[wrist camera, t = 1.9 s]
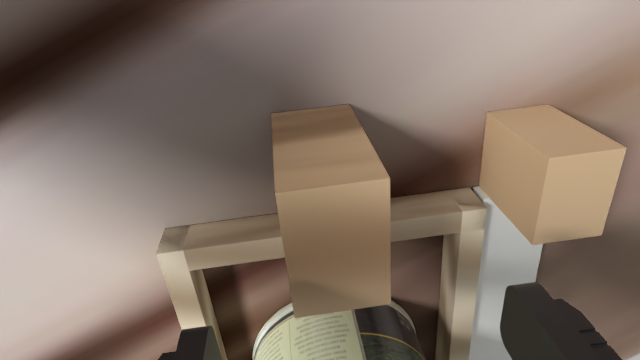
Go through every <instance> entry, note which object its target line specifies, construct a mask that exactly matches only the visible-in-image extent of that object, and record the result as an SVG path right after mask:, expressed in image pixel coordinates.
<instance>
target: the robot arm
mask: <svg viewBox="0 0 640 360" xmlns="http://www.w3.org/2000/svg"><path fill="white" fill-rule="evenodd" d="M500 333H501V338H502V341H503V344H504V346H505V348H506V350H507V352H508V353H509V355H510V357H511V359H512V360H622V359H621V358H620V357H619V356H618V354H617V353H616V352H615V351H614V350H613V349H612V348H611V346H608V345H607V342H606V341H605V339H604V338H603V337H602V336H601V335H600V334H599V332H596V331H595V328H594V327H593V325H592V324H591V323H590V322H589V321H588V320H587V318H586V317H585V316H584V315H583V314H582V313H581V312H580V311H579V310H577V309H576V308H574V307H573V306H571V305H570V304H568V303H567V302H565V301H564V300H562V299H556V300H553V299H552V298H551V296H550V295H549V294H548V293H547V291H546V290H545V289H544V288H543V287H542V286H541V285H540V284H539V283H537V282H532V283H524V284H517V285H510V286H508V287H507V288H506V291H505V297H504V303H503V309H502V315H501V321H500ZM158 360H222V357H221V354H220V350H219V346H218V343H217V339H216V336H215V332H214V329H213V327H212V326H204V327H196V328H189V329H183V330H182V331H181V334H180V338H179V342H178V346H177V350H176V352H169V353H163V354H162V355H161V356H160V358H159V359H158Z"/></svg>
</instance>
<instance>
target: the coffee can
mask: <svg viewBox="0 0 640 360" xmlns="http://www.w3.org/2000/svg"><path fill="white" fill-rule="evenodd" d="M252 358H253V360H426V359H425V356H424V353H423V351H422V349H421V346H420V343H419V341H418V338H417V336H416V331H415V327H414V324H413V322H412V320H411V318H410V317H409V315H408V314H407V313H406V311H405V310H404V309H403V308H402V307H401V306H400V305H398V304H397V303H395V302H394V301H392V300H391V304H387V305H380V306H374V307H367V308H360V309H354V310H347V311H341V312H334V313H327V314H321V315H314V316H307V317H301V318H295V317H294V311H293V305H292V303H290V304H288V305H286V306H285V307H283V308H281V309H280V310H279V311H278V312H276V313H275V314H274V315H273V317H271V318H270V319H269V320H268V321H267V322H266V323H265V325H264V326H263V327H262V329H261V331H260V332H259V334H258V336H257V338H256V341H255V344H254V348H253V354H252Z"/></svg>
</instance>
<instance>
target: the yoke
mask: <svg viewBox="0 0 640 360" xmlns="http://www.w3.org/2000/svg"><path fill="white" fill-rule="evenodd" d="M271 123H272V144H273V165H274V187H275V198H276V204H277V210H278V213H277V214H269V215H262V216H255V217H247V218H240V219H232V220H225V221H218V222H210V223H203V224H196V225H188V226H181V227H173V228H166V229H165V230H164V233H163V236H162V239H161V241H160V244H159V247H158V250H157V253H156V255H157V258H158V261H159V264H160V267H161V270H162V273H163V276H164V279H165V282H166V285H167V288H168V290H169V293H170V296H171V299H172V302H173V305H174V308H175V311H176V314H177V317H178V320H179V323H180V325H181V328H182V330H183V329H189V328H196V327H204V326H212V327H213V329H214V332H215V336H216V339H217V343H218V346H219V350H220V354H221V357H222V360H228V359H227V356H226V352H225V348H224V345H223V341H222V338H221V334H220V331H219V327H218V324H217V320H216V317H215V313H214V310H213V306H212V303H211V299H210V295H209V292H208V288H207V285H206V281H205V278H204V274H203V271H202V269H206V268H213V267H220V266H227V265H234V264H241V263H248V262H255V261H262V260H269V259H276V258H283V257H285V261H286V267H287V273H288V279H289V286H290V292H291V298H292V305H293V311H294V317H295V318H301V317H307V316H314V315H321V314H327V313H334V312H341V311H347V310H354V309H360V308H367V307H374V306H380V305H387V304H391V242H396V241H403V240H410V239H417V238H424V237H432V236H439V235H444V238H443V253H442V268H441V283H440V297H439V312H438V327H437V342H436V357H435V360H469V353H470V344H471V336H472V328H473V320H474V312H475V304H476V296H477V288H478V279H479V271H480V263H481V255H482V247H483V239H484V231H485V223H486V214H487V207H486V206H485V205H484V204H483V203H482V201H481V200H480V199H479V198H478V197H477V196H476V194H475V193H474V192H473V191H472V190H471V189H470V187H469V188H461V189H454V190H447V191H439V192H432V193H424V194H417V195H410V196H402V197H395V198H390V177H389V175H388V173H387V171H386V170H385V168H384V166H383V164H382V162H381V161H380V159H379V157H378V155H377V153H376V151H375V150H374V148H373V146H372V144H371V142H370V140H369V139H368V137H367V135H366V133H365V131H364V130H363V128H362V126H361V124H360V122H359V120H358V119H357V117H356V115H355V113H354V111H353V109H352V108H351V106H350V104H346V105H338V106H329V107H321V108H313V109H305V110H296V111H288V112H280V113H272V114H271Z"/></svg>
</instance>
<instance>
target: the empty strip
mask: <svg viewBox="0 0 640 360" xmlns="http://www.w3.org/2000/svg"><path fill="white" fill-rule="evenodd" d="M626 149H627V148H626V147H625V146H623V145H621V144H619V143H617V142H616V141H614V140H612V139H610V138H608V137H606V136H605V135H603V134H601V133H599V132H597V131H596V130H594V129H592V128H590V127H588V126H587V125H585V124H583V123H581V122H579V121H578V120H576V119H574V118H572V117H570V116H569V115H567V114H565V113H563V112H561V111H559V110H558V109H556V108H554V107H552V106H550V105H549V104H548V105H540V106H532V107H524V108H516V109H508V110H500V111H492V112H487V116H486V126H485V135H484V144H483V153H482V162H481V172H480V181H479V186H476V187H473V192H474V193H475V194H476V196H477V197H478V198H479V199H480V200H481V201H482V203H483V204H484V205H485V206H486V207H487V214H486V223H485V231H484V239H483V247H482V255H481V263H480V271H479V279H478V288H477V296H476V304H475V312H474V320H473V328H472V336H471V344H470V353H469V360H512V359H511V357H510V355H509V353H508V352H507V350H506V348H505V346H504V344H503V341H502V338H501V333H500V321H501V315H502V309H503V303H504V297H505V291H506V288H507V287H508V286H510V285H517V284H524V283H532V282H535V280H536V275H537V271H538V266H539V261H540V256H541V251H542V247H543V244H545V243H552V242H559V241H566V240H573V239H580V238H586V237H593V236H600V235H602V233H603V229H604V226H605V222H606V219H607V215H608V212H609V208H610V205H611V201H612V198H613V194H614V191H615V187H616V184H617V180H618V177H619V173H620V170H621V167H622V163H623V160H624V156H625V153H626Z"/></svg>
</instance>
